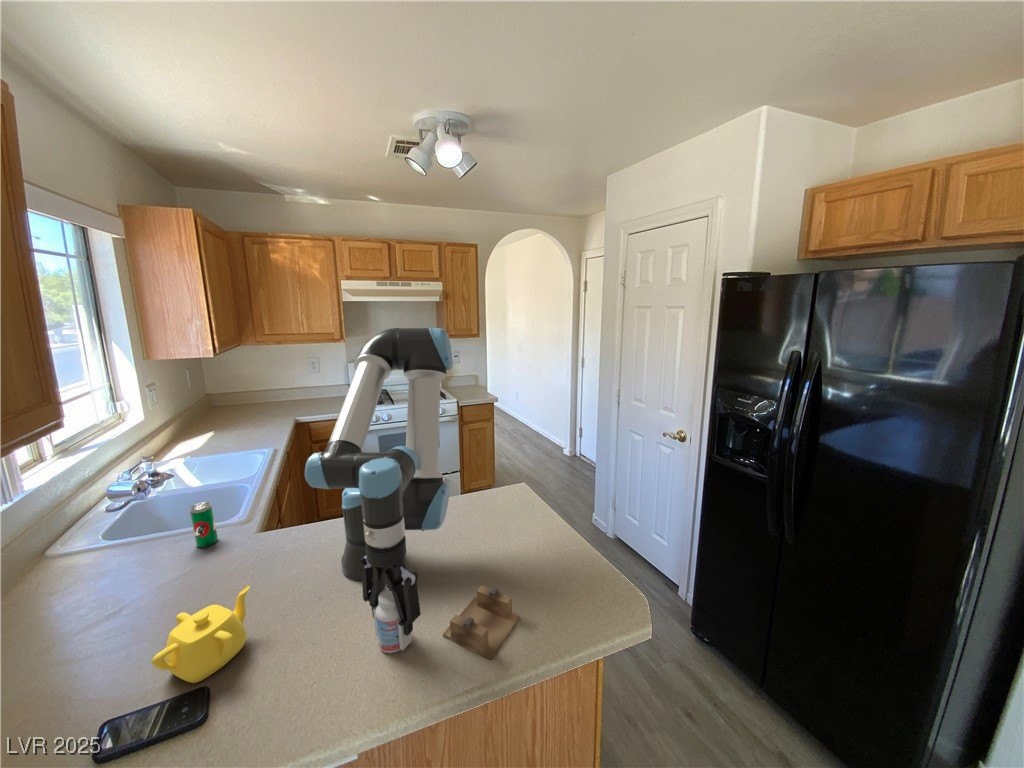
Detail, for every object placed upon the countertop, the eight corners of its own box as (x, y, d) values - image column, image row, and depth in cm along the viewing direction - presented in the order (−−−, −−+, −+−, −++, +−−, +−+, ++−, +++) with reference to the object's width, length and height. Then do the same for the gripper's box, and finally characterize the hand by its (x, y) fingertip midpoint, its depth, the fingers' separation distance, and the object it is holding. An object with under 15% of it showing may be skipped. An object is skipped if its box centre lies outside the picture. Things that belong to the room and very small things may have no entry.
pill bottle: (381, 659, 80) (377, 610, 77) (376, 636, 85) (371, 590, 83) (412, 647, 83) (408, 599, 80) (405, 626, 88) (401, 580, 85)
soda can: (221, 541, 119) (214, 504, 116) (201, 550, 114) (193, 512, 112) (213, 536, 121) (206, 499, 119) (193, 544, 117) (185, 507, 114)
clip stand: (442, 636, 85) (441, 613, 84) (475, 599, 95) (474, 578, 94) (491, 660, 79) (490, 636, 78) (520, 618, 90) (520, 596, 88)
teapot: (186, 639, 85) (177, 597, 83) (257, 623, 89) (250, 582, 87) (155, 700, 72) (143, 652, 70) (239, 677, 76) (230, 631, 74)
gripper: (336, 534, 80) (347, 633, 85) (408, 564, 71) (416, 673, 76) (366, 516, 86) (375, 609, 91) (436, 542, 77) (441, 643, 82)
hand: (393, 638), depth 84 cm, fingers closed on pill bottle, 6 cm apart
